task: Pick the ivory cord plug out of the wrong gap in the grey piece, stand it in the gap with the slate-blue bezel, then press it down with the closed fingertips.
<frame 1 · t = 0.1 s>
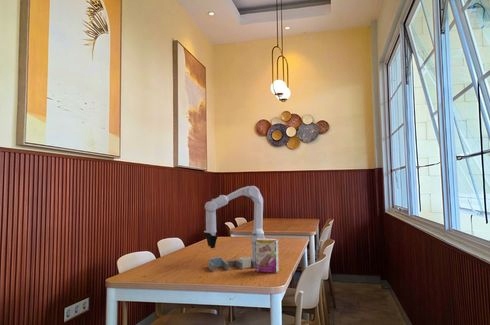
hand: (211, 247, 199), 10 cm above the table, tool pointing down, fingers open, 7 cm apart
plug: (245, 267, 193), resting in grey piece
candy bar box: (267, 272, 181), on the table
grey piece: (232, 268, 191), on the table
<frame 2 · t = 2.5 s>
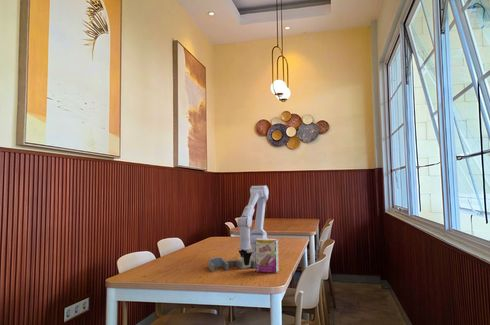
hand: (245, 264, 193), 1 cm above the table, tool pointing down, fingers closed on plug, 4 cm apart
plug: (245, 266, 193), resting in grey piece, touching gripper
everything else where it was.
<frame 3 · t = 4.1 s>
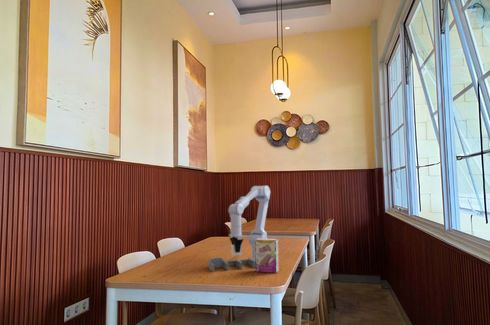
hand: (236, 251, 192), 9 cm above the table, tool pointing down, fingers closed on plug, 4 cm apart
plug: (236, 254, 192), point 7 cm above the table, touching gripper
everything else where it was.
when the fingers open (3 cm above the table, at t = 6.1 s): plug drops 1 cm, resting in grey piece.
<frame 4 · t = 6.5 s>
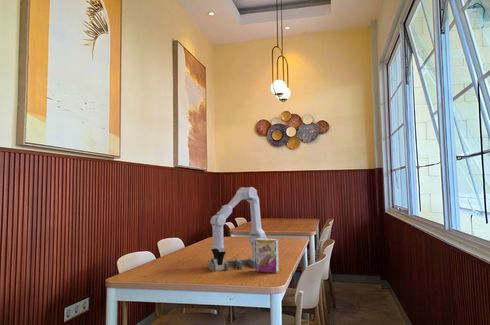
hand: (218, 263, 189), 3 cm above the table, tool pointing down, fingers open, 7 cm apart
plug: (219, 269, 189), resting in grey piece
everything else where it was.
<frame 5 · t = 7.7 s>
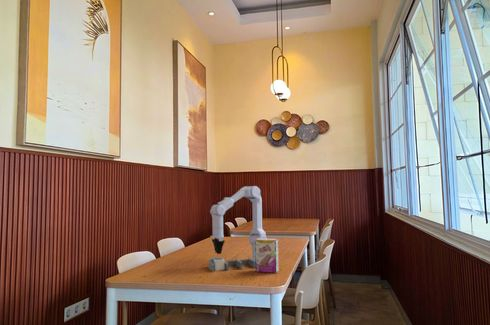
hand: (218, 253, 189), 8 cm above the table, tool pointing down, fingers open, 4 cm apart
nothing on the table moved.
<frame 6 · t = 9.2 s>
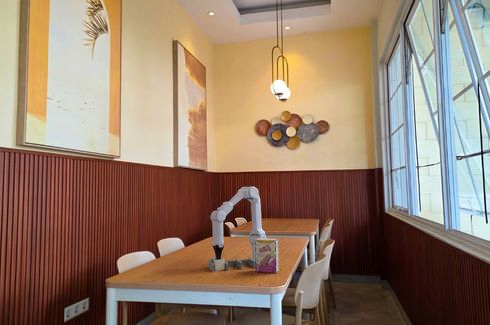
hand: (218, 259, 189), 5 cm above the table, tool pointing down, fingers closed
nothing on the table moved.
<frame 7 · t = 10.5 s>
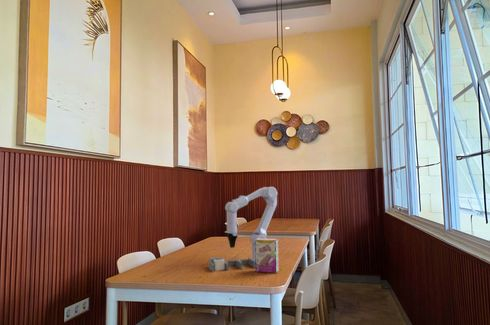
hand: (232, 247, 201), 9 cm above the table, tool pointing down, fingers closed
nothing on the table moved.
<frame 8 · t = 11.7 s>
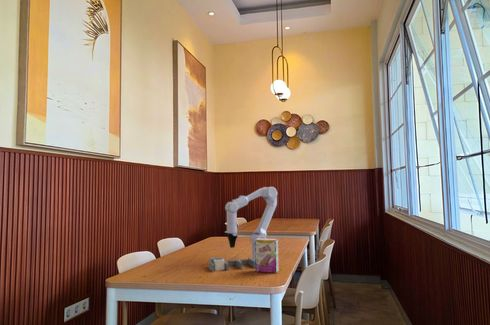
hand: (232, 247, 201), 9 cm above the table, tool pointing down, fingers closed
nothing on the table moved.
at the end: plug 0.3 cm from the target spot on the grey piece, point 0.0 cm above the grey piece's base; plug tilted 0°; the gripper is holding nothing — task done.
